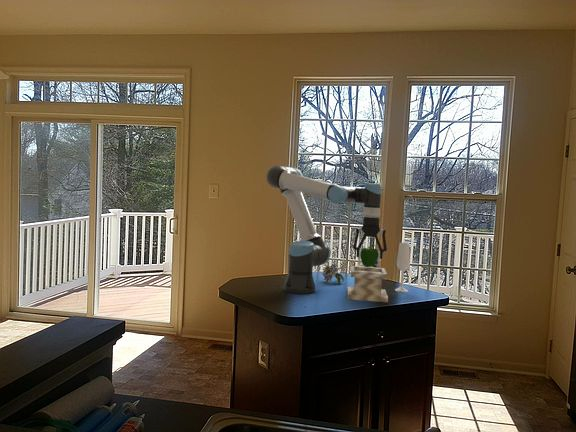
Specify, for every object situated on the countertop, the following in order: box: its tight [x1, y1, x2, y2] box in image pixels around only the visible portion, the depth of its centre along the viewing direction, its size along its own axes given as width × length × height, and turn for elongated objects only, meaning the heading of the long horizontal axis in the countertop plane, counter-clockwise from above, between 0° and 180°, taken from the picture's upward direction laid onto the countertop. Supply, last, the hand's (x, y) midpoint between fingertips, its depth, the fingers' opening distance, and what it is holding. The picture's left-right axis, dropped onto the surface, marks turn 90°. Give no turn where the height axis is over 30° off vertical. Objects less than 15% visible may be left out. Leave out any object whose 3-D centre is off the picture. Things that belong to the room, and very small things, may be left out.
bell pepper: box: [360, 243, 379, 266], centre depth 215 cm, size 8×8×10 cm
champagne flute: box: [394, 242, 411, 293], centre depth 232 cm, size 7×7×24 cm
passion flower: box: [321, 263, 348, 285], centre depth 245 cm, size 11×11×12 cm
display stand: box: [346, 265, 389, 303], centre depth 216 cm, size 18×18×12 cm
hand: (368, 265), depth 215 cm, fingers closed on bell pepper, 8 cm apart
